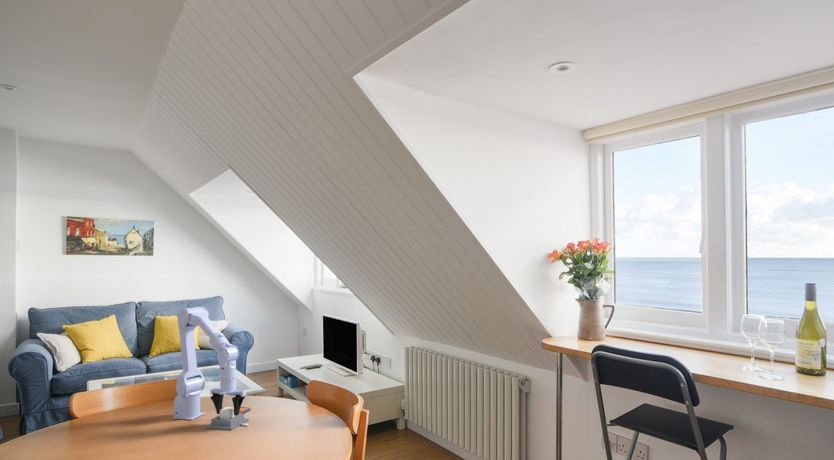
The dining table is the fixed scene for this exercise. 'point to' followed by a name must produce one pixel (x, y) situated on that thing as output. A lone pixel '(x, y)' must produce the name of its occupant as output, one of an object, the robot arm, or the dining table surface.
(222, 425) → the block
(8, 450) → the dining table surface
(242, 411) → the smartphone
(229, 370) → the robot arm
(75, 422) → the dining table surface
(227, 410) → the white block
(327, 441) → the dining table surface
